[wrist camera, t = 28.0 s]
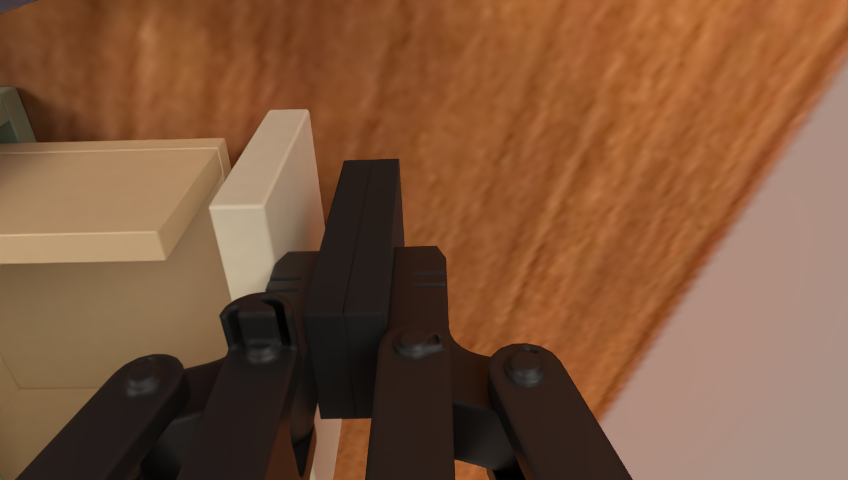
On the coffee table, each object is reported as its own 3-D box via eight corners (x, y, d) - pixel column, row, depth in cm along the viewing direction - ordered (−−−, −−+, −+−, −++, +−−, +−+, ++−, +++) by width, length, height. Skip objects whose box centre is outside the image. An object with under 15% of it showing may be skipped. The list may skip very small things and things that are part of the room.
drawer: (350, 106, 18) (320, 203, 13) (378, 389, 24) (364, 528, 19) (-116, 118, 18) (-320, 218, 13) (30, 394, 24) (-73, 534, 19)
